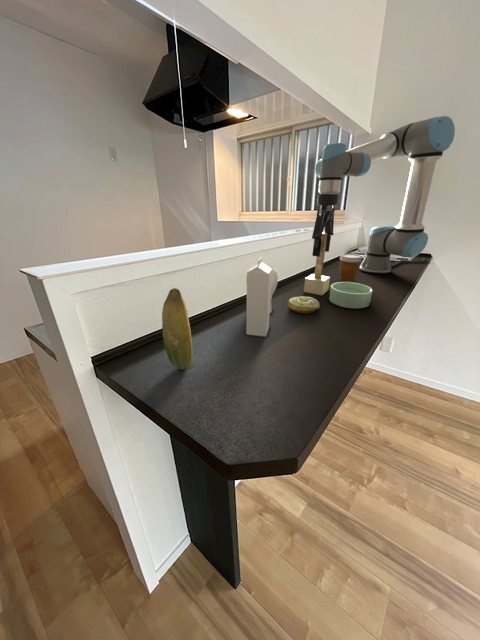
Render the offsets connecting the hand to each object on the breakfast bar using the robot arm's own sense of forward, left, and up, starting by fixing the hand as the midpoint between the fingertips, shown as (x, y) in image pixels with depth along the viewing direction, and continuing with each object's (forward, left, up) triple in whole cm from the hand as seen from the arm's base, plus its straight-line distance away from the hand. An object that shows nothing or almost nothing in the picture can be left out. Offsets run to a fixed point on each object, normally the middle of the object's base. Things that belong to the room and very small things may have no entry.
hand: (320, 253), depth 107 cm
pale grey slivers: (+32, -9, -16) cm, 37 cm away
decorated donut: (+22, +3, -16) cm, 27 cm away
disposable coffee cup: (-23, +7, -16) cm, 29 cm away
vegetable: (+73, -7, -16) cm, 75 cm away
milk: (+46, -2, -16) cm, 49 cm away
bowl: (+6, +15, -16) cm, 23 cm away
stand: (0, 0, -16) cm, 16 cm away
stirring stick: (0, 0, -16) cm, 16 cm away
